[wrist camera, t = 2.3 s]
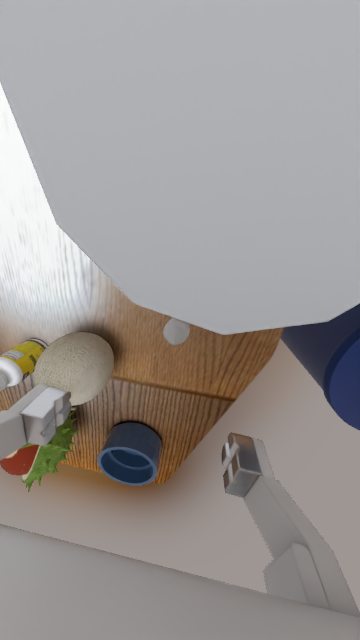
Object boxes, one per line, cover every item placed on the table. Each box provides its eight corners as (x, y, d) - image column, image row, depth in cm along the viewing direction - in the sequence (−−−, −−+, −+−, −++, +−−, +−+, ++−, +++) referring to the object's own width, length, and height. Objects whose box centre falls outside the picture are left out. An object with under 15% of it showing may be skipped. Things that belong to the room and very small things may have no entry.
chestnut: (41, 486, 39) (-43, 467, 33) (80, 415, 48) (20, 390, 42) (61, 506, 29) (-53, 484, 23) (105, 412, 39) (32, 379, 33)
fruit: (63, 358, 36) (-21, 427, 23) (79, 311, 32) (-13, 362, 18) (111, 382, 37) (58, 462, 24) (133, 340, 33) (84, 408, 19)
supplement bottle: (51, 364, 37) (4, 403, 28) (25, 356, 37) (-30, 392, 28) (52, 343, 35) (1, 377, 26) (25, 334, 35) (-36, 365, 26)
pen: (197, 298, 29) (193, 342, 16) (186, 310, 30) (174, 361, 17) (185, 287, 28) (171, 324, 16) (174, 300, 29) (152, 344, 16)
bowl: (148, 415, 40) (140, 442, 34) (170, 452, 44) (166, 482, 38) (100, 424, 43) (86, 451, 37) (125, 459, 47) (115, 487, 41)
